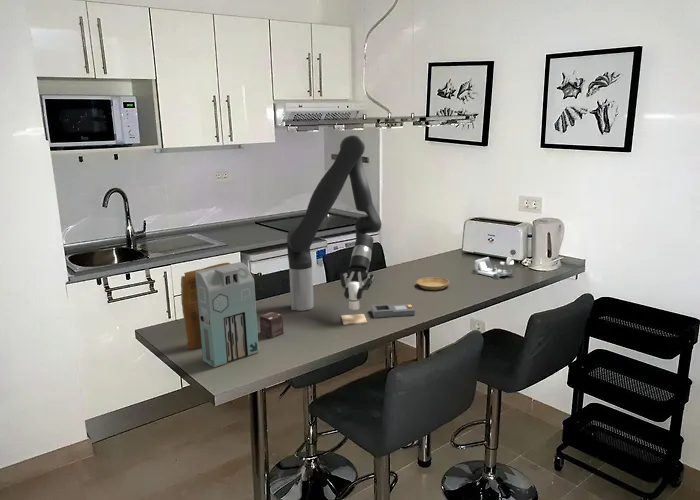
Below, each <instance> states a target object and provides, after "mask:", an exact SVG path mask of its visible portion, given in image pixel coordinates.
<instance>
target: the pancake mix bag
mask: <svg viewBox="0 0 700 500" xmlns="http://www.w3.org/2000/svg"><path fill="white" fill-rule="evenodd" d="M228 264H232V263H230V262H223V263H218V264H214V265H211V266H207V267H204V268H199V269H195V270H192V271H186V272H184V275H183V276H182V275H181V278H180V288H181V289H180V292H181V293H180V294H181V295H180V299H181V307H182V309H181V310H182V315H183V320H184V327H185V328H184V329H185V334H186V338H187V347H186V348H187V349H189V350H197V349H198V350H199V349H202V341H201V330H200V319H199V308H198V297H197V286H196V275H195V272H196V271H200V270H205V269H210V268H214V267H219V266H224V265H228Z"/></svg>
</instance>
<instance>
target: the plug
mask: <svg viewBox="0 0 700 500" xmlns="http://www.w3.org/2000/svg"><path fill="white" fill-rule="evenodd" d="M347 282H348V281H347ZM358 289H359V282H356V281H352V282H348V292H349V298H348V309H349V310H351V311H352V310H353V311H355V310H359V309H360V308H361V306H360V300H358V299H357V293H358Z"/></svg>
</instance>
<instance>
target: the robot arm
mask: <svg viewBox="0 0 700 500" xmlns="http://www.w3.org/2000/svg"><path fill="white" fill-rule="evenodd" d="M365 149H366V147H365V142H364V140H363V138H361V137H360V136H358V135H349V136H346V137H344V138H343V139H342V140H341V143H340V145H339V152H338V154H337V156H336V158H335V160H334V161H333V164H332V165H331V166H330V168H328V170H327V171H326V172H325V174H324V175H323V176H322V178H321V179H320V180H319V182H318V184H317V186H316V187H315V189H314V191H312V194H311V197H310V199H309V202H308V205H307V209H306V211H305V214H304V216H303V218H302V220H301V221H300V222H299V224H298V226H295V227H292V228H291V229H289V231H288V232H287V237H286V245H287V246H286V248H287V259H288V267H289V268H288V270H289V271H288V272H289V289H290V291H289V292H290V305H291V306H290V307H291V309H290V310H291V311H299V312H300V311H301V312H302V311H308V310H309V311H310V310H311V309H314V302H315V301H314V284H313V282H314V280H313V261H312V255H311V246H312V244H313V241H314V239H315V237H316V235H317V233H318V230H319V229H320V227H321V224H322V223H323V221H324V220H325V219H326V217H327V216H328V214H329V212H330V211H331V209H332V207H333V205H334V204H335V202H336V200H338V197H339V195H340V193H341V192H342V190H343V187H344V185H345V183H346V181H347V179H348V177H349V179H350V185H351V190H352V196H353V201H354V204H355V205H354V206H355V209H356V211H358V212H364V213H365V214H366V215H365V216H359V217H358V218H357V219H356V220H355V224H354V228H355V229H354V230H355V242H354V243H355V244H354V247H353V250H352V253H351V257H350V262H349V266H348V270H347V271H346V272H344V273H343V272H340V273H339V277H340V285H341V286H342V289H344V293H343V295H344V298H345V299H346V300H349V292H348V282H352V281H356V282H359V289H358V293H357V299H358V300H359V301H360V299H362V297H363V293H364V291H369V289H370V287H371V286H372V283H373V282H374V280H375V276H374V275H373V273H371V274H370V273H369V269H370V263H371V261H372V250H373V246H374V238H373V236H372V235H370V234H374V233H377V232H380V230H381V229H382V220H381V217H380V216H379V213H378V212H377V209H376V207H375V205H374V203H373V198H372V194H371V190H370V186H369V182H368V179H367V177H366V173H365V169H364V165H363V155H364V153H365ZM347 277H348V279H347ZM346 279H347V283H346ZM366 279H367V280H366ZM365 280H366V282H365V283H364V281H365Z"/></svg>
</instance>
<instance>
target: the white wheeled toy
mask: <svg viewBox="0 0 700 500" xmlns="http://www.w3.org/2000/svg"><path fill="white" fill-rule="evenodd" d="M505 261H506V262H505ZM505 261H500V262H499V265H501V269H500V268H499V267H497V264H494V265H492V262H491V260H490V257H489V256H487V257H483V258H478V259H475V260H474V268H473V269H472V270H471V273H472V274H473V275H478V274H479V275H480V274H481V275H484V276H487V277H488V276H489V277H492V278H493V279H494V280H499V279H500V278H501V277H503V276H504V277H505V276H508V275H509V276H512V275H513V270H512V269H508V268H505V269H503V267H504V266H505V265H506V267H509V266H511V265H514V264H515V261H514V259H513V258H511V257H507V258H506V260H505ZM503 265H504V266H503Z"/></svg>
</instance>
